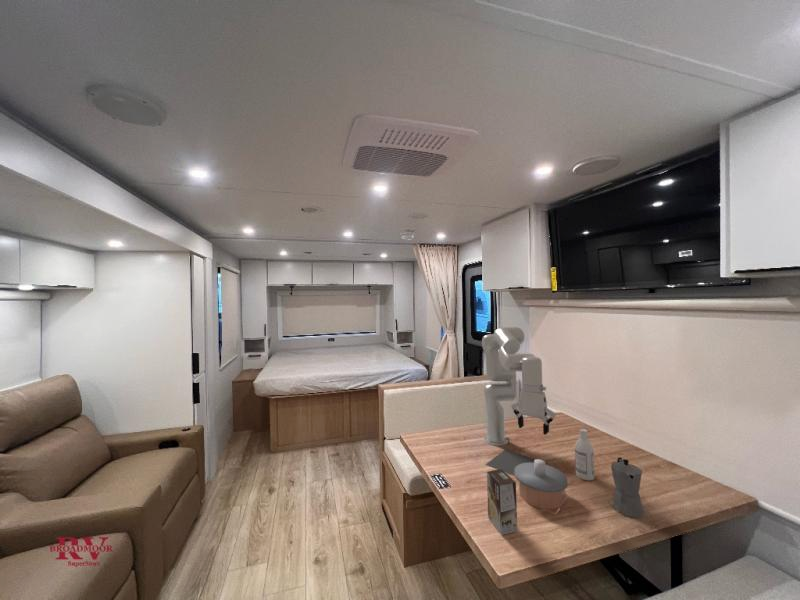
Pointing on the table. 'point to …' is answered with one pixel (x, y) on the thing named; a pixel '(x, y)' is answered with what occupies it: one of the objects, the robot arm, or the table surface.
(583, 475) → the bath foam
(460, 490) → the table surface
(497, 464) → the mat
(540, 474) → the lid
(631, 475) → the coffeepot
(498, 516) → the coffee box
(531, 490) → the bowl
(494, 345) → the robot arm
